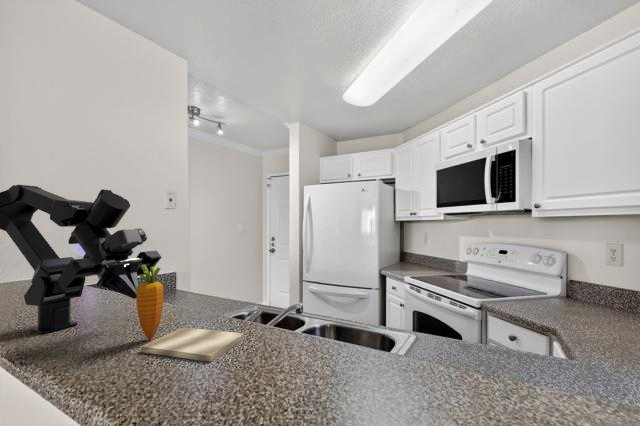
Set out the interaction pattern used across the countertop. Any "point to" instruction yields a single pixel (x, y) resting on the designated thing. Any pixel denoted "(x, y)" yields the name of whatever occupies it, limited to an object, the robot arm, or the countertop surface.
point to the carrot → (149, 302)
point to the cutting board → (194, 344)
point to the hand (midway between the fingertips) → (137, 297)
